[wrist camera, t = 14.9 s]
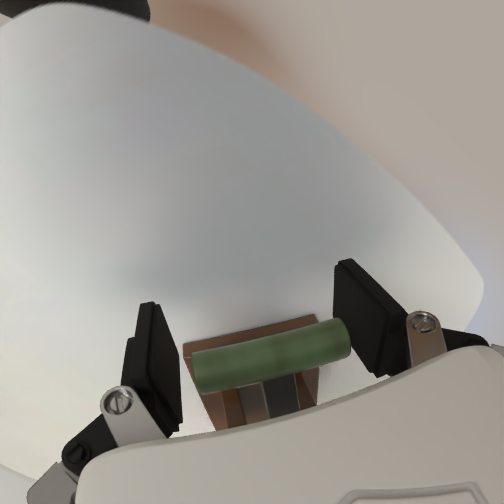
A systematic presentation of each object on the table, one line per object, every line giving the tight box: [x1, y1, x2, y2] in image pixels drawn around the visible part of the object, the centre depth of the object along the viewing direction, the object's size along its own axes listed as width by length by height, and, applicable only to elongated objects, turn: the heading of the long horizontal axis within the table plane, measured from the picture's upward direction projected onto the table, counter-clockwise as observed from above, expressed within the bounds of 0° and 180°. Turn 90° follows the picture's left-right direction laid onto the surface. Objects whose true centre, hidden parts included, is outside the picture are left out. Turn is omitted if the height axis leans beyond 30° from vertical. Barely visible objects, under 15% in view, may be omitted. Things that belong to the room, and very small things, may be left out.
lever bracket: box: [183, 314, 319, 431], centre depth 14 cm, size 10×8×12 cm
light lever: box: [191, 318, 351, 420], centre depth 10 cm, size 12×5×2 cm, turn 7°
